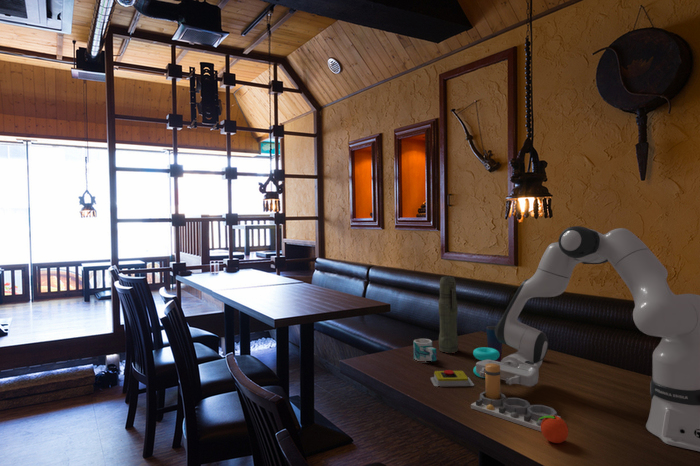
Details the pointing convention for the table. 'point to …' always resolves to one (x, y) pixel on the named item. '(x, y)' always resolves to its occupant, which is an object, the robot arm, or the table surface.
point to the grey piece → (514, 410)
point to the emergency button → (451, 378)
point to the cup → (493, 341)
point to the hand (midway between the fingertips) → (494, 378)
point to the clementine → (554, 428)
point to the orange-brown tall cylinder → (492, 381)
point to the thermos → (448, 315)
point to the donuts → (485, 355)
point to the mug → (424, 350)
